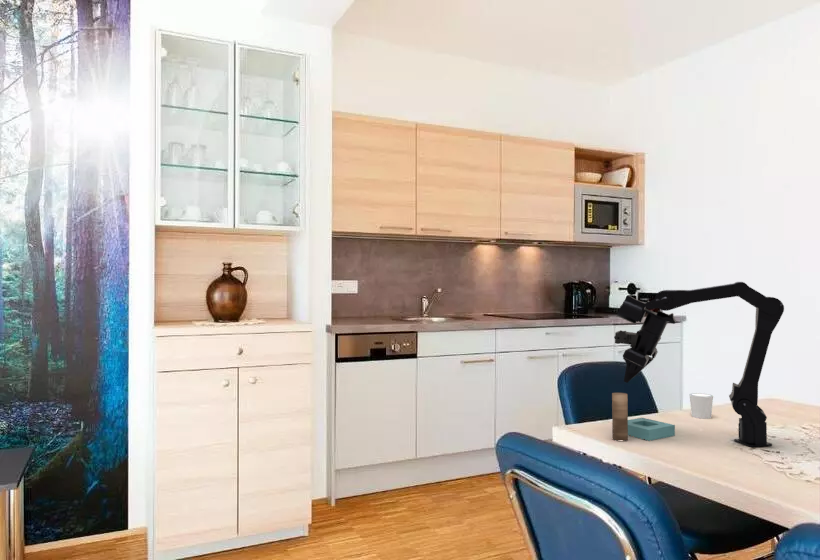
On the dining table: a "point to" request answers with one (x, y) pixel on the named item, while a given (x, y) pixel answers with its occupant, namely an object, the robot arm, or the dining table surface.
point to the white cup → (701, 405)
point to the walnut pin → (620, 416)
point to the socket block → (650, 429)
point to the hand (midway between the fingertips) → (628, 379)
